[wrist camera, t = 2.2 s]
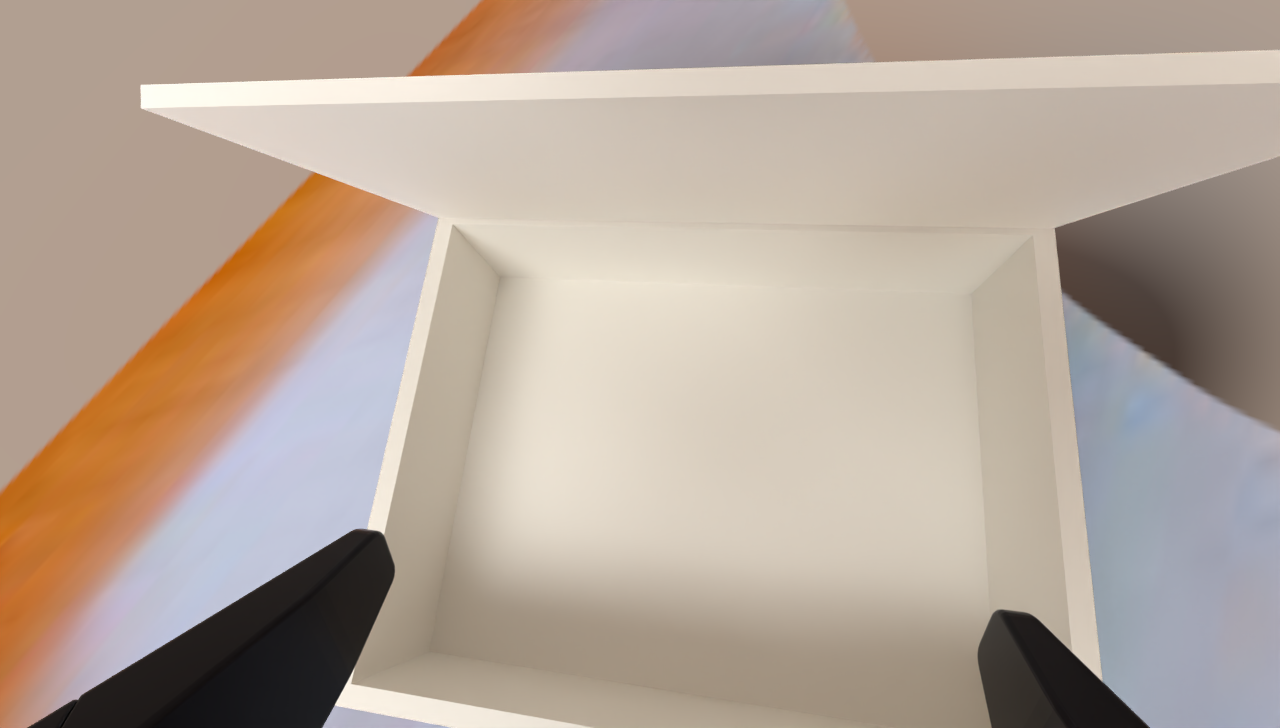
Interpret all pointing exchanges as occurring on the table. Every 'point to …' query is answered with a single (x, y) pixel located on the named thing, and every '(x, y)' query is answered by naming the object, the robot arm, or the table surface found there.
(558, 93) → the box flap
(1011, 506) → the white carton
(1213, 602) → the table surface
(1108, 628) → the table surface
